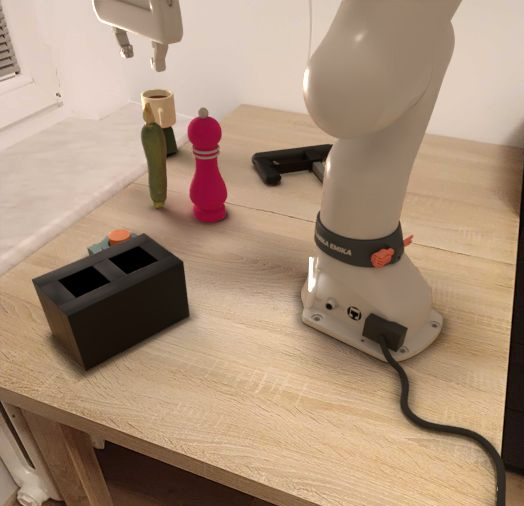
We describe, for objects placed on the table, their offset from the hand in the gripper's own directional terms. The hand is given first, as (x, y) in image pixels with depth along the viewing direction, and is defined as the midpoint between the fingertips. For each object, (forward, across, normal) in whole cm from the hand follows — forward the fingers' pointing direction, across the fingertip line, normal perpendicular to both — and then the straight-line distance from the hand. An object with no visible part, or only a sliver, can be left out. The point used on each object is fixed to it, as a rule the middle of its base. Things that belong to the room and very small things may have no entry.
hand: (142, 63), depth 83 cm
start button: (+22, -12, +16) cm, 30 cm away
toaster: (+26, -26, +25) cm, 44 cm away
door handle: (+26, -8, -32) cm, 42 cm away
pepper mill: (+26, -9, -5) cm, 28 cm away
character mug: (+26, +21, -15) cm, 37 cm away
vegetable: (+26, 0, 0) cm, 26 cm away
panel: (+26, -12, +16) cm, 33 cm away
